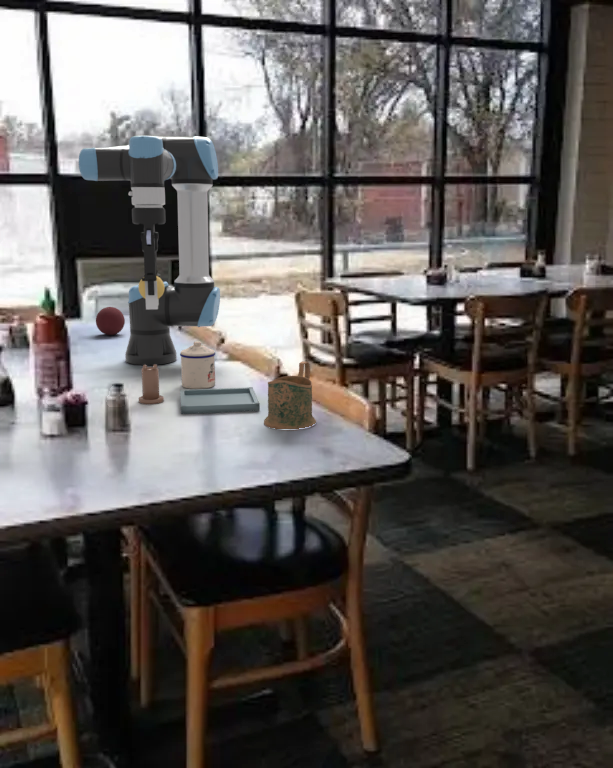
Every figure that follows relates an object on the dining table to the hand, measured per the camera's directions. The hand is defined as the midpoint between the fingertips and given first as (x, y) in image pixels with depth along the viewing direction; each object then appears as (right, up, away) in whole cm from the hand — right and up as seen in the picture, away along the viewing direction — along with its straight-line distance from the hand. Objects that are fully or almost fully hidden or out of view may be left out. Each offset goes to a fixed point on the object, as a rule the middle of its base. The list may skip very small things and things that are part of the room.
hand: (152, 307), depth 187 cm
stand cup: (-1, -22, +6) cm, 23 cm away
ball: (0, +4, -1) cm, 5 cm away
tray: (+15, -23, +3) cm, 28 cm away
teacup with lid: (+8, -18, +23) cm, 30 cm away
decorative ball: (-33, -1, +95) cm, 101 cm away
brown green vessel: (+34, -26, -9) cm, 44 cm away
